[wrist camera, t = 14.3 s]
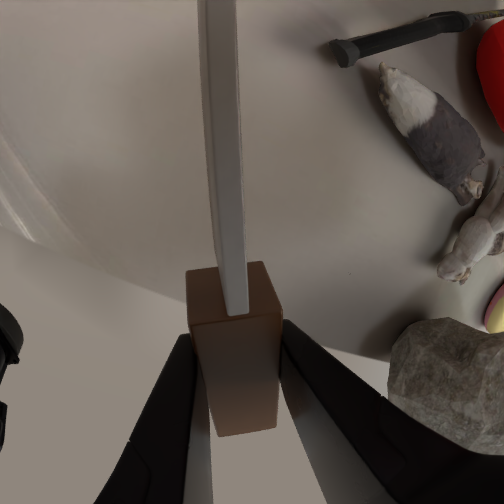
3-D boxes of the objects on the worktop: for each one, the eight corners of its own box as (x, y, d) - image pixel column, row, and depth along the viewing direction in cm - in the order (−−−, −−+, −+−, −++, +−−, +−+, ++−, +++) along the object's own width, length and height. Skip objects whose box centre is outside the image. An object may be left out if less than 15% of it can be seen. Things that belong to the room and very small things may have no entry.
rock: (542, 441, 9) (572, 308, 16) (347, 343, 23) (429, 257, 30) (472, 502, 16) (525, 398, 22) (348, 427, 30) (417, 349, 37)
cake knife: (264, 383, 11) (280, 440, 9) (211, 391, 11) (219, 450, 8) (253, -61, 4) (285, -115, 2) (158, -57, 4) (148, -115, 1)
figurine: (473, 115, 14) (367, 307, 21) (545, 201, 19) (471, 320, 26) (430, 100, 17) (343, 270, 24) (516, 181, 22) (450, 294, 30)
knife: (488, 3, 15) (527, 4, 11) (493, 16, 16) (532, 18, 11) (312, 48, 15) (363, 36, 10) (323, 70, 15) (376, 65, 11)
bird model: (504, 189, 20) (461, 173, 24) (440, 36, 10) (372, 39, 14) (487, 232, 20) (444, 212, 25) (415, 94, 11) (343, 89, 15)
